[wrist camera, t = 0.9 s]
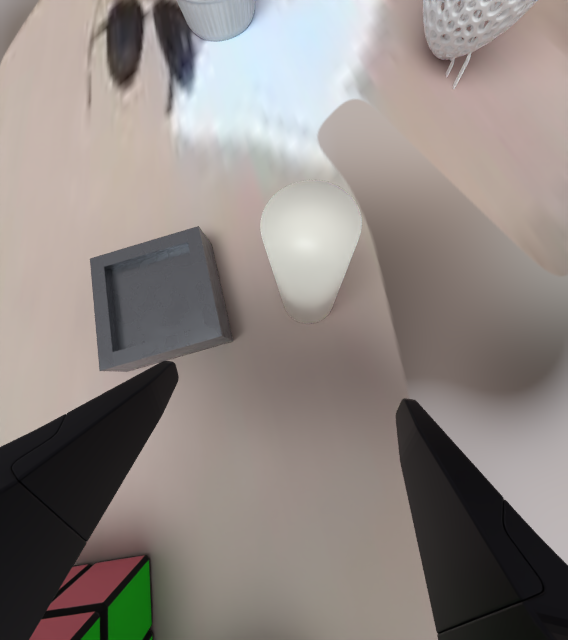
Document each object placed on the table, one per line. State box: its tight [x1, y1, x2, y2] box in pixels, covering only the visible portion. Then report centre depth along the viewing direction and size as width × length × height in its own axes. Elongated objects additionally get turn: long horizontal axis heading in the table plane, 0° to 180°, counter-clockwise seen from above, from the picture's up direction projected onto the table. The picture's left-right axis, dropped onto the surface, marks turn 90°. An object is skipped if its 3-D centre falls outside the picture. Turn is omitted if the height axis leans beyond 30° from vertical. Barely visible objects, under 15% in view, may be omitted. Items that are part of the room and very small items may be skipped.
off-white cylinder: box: [260, 180, 362, 324], centre depth 18 cm, size 5×5×12 cm
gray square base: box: [90, 226, 233, 372], centre depth 24 cm, size 11×11×3 cm
